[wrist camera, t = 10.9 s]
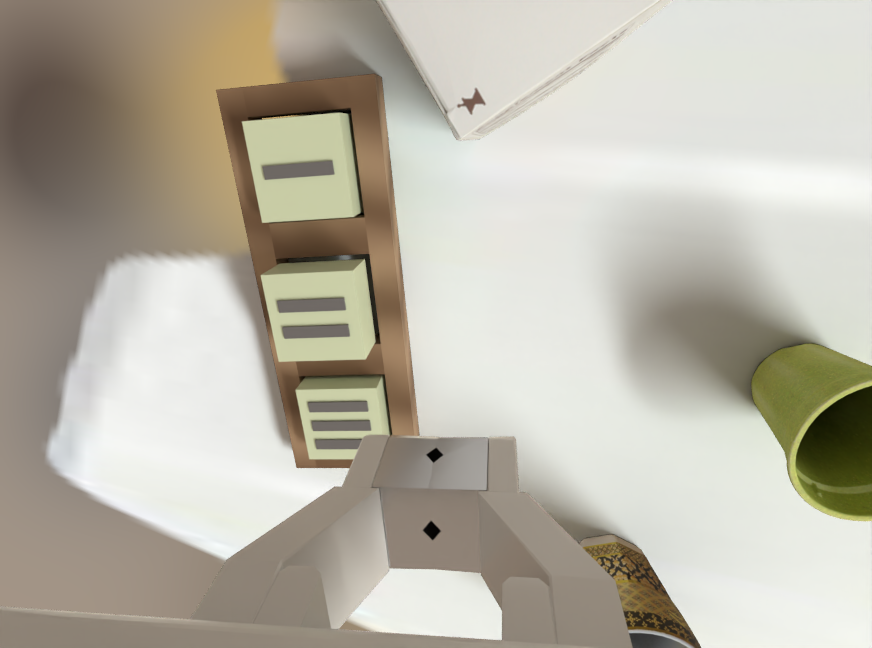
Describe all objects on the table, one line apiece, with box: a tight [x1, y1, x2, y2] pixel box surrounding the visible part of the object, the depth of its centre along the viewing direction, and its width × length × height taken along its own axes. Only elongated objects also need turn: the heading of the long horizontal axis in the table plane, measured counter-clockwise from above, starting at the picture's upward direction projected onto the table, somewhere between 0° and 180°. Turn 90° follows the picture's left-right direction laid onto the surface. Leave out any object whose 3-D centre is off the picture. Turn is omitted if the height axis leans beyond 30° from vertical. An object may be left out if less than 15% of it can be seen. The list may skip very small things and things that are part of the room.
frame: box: [216, 74, 419, 468], centre depth 36 cm, size 28×10×2 cm, turn 5°
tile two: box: [261, 259, 376, 362], centre depth 33 cm, size 6×6×3 cm
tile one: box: [242, 113, 364, 223], centre depth 31 cm, size 6×6×3 cm
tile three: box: [296, 374, 392, 459], centre depth 38 cm, size 6×6×3 cm
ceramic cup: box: [579, 534, 701, 648], centre depth 39 cm, size 13×10×10 cm
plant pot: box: [751, 344, 872, 521], centre depth 31 cm, size 9×9×9 cm
